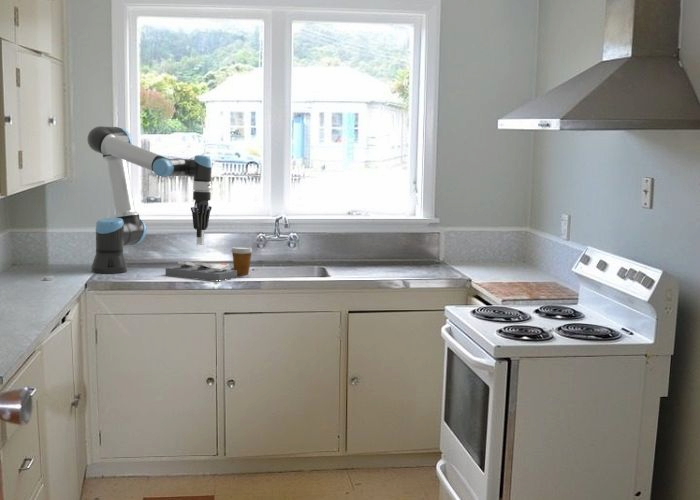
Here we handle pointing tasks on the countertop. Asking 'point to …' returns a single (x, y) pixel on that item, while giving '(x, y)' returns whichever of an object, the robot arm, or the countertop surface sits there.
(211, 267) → the rocker middle
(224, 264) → the rocker right
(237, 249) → the disposable coffee cup
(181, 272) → the power strip
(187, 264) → the block
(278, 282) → the countertop surface
